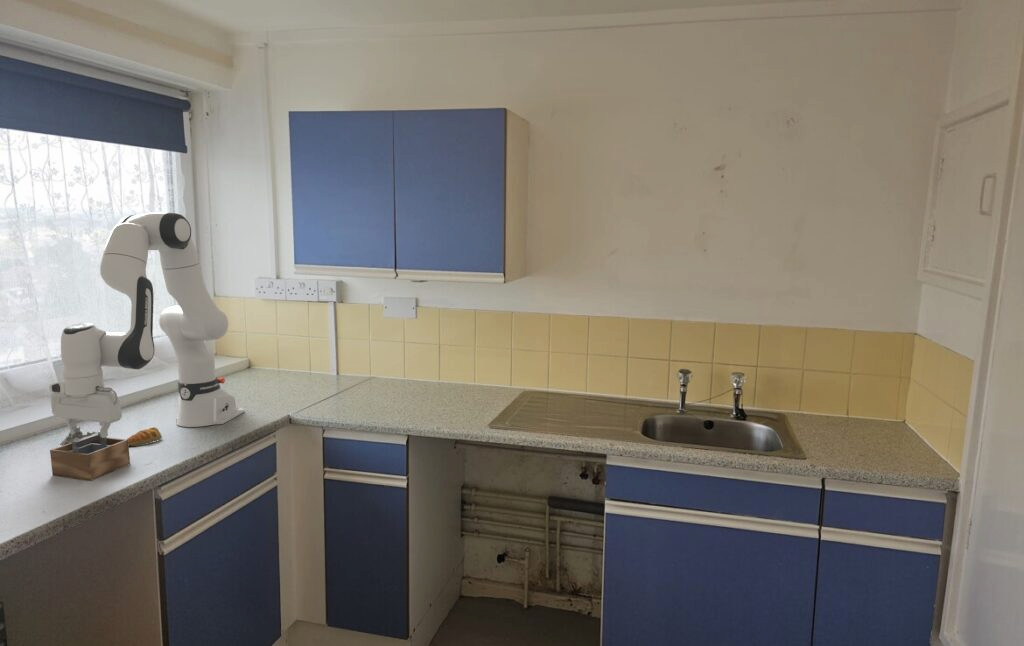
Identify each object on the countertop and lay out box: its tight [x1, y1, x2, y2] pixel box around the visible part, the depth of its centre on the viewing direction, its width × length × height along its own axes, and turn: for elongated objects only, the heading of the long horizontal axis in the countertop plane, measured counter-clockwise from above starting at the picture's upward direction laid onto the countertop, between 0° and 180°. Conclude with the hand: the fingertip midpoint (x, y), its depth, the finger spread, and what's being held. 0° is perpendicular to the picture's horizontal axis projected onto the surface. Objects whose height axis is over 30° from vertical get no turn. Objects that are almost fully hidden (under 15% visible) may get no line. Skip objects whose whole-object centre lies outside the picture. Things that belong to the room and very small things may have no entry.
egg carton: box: [59, 430, 98, 446], centre depth 200 cm, size 11×8×4 cm
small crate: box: [69, 432, 111, 454], centre depth 180 cm, size 9×9×9 cm
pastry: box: [126, 426, 163, 447], centre depth 203 cm, size 9×7×4 cm
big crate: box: [49, 436, 131, 482], centre depth 180 cm, size 13×13×7 cm
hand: (89, 435), depth 179 cm, fingers open, 8 cm apart
